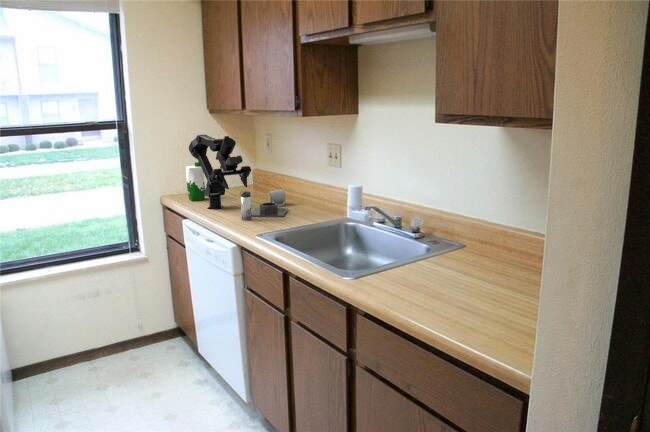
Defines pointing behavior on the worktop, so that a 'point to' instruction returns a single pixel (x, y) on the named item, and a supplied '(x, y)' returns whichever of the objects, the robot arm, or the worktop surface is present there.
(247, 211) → the black capped shaker
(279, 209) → the firebox collar
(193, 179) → the milk carton
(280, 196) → the ceramic mug
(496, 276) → the worktop surface
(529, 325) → the worktop surface
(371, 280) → the worktop surface
